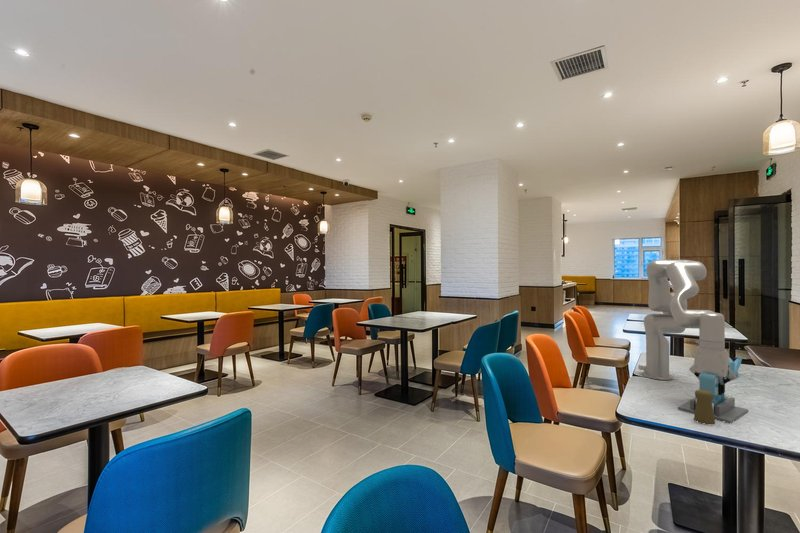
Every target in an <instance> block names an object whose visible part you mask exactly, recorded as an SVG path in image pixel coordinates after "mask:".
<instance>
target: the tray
mask: <svg viewBox="0 0 800 533" xmlns="http://www.w3.org/2000/svg"><path fill="white" fill-rule="evenodd" d="M729 396H730V395H728V394H724V401H723V402H721V403H720V404H718V405H716V406H715V407H714V403H712V407H713V413H714V419H716V420H715V421H719V420H720V421H719V422H723V421H725V422H724V423H726V422H728V423H727V424H730V423H731V424H732V423H734V422H736V419H737V420H738V419H740V418H742V417H743V416H744V415H746V414H747V413H749V409H748V408H745V407H740V406H736V403H735V399H736V398H735V397H729ZM696 402H697V398H696V397H695V396H694V397H693V398H691V399H690V400H689V401H687V402H684V403H683V404H681V405H679V406H677V410H678V411H682V412H686V413H689V414H692V415H693V414H694V415H695V408H696ZM739 417H740V418H739ZM733 421H734V422H733Z"/></svg>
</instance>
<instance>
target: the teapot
mask: <svg viewBox="0 0 800 533" xmlns="http://www.w3.org/2000/svg"><path fill="white" fill-rule="evenodd" d="M742 360H743V358H739V357H737V358H735V360H733V359H732V358H731V357H729V363H730V370H731V371H732V372H733V373H734V374H735V376H736V377H737V376H738V374H739V369H740V367H741V364H742ZM727 377H728V378H729V377H730V376H729V375H727V376H726V377H725V378H727Z"/></svg>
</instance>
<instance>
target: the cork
mask: <svg viewBox="0 0 800 533" xmlns="http://www.w3.org/2000/svg"><path fill="white" fill-rule="evenodd" d="M695 397H696V398H697V402H696V408H695V414H694V415H693V420H694V421H695V420H696V421H698V422H697V423H699V422H701V423H700V424H702V423H705V424H704V425H708V424H714V425H715V424H716V420H715V419H714V413H713V407H712V400H713V394H712V393H711V392H710V391H707V390H700V389H696V390H695V392H694V398H695ZM696 421H695V422H696Z"/></svg>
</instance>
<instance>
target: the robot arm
mask: <svg viewBox="0 0 800 533" xmlns="http://www.w3.org/2000/svg"><path fill="white" fill-rule="evenodd" d="M645 271H646V272H645V273H646V277H647V280H648V298H647V299H648V300H647V301H648V308H649V309H650V311H653V312H659V313H649V314H647V315H645V316H644V318H643V325H644V326H643V327H644V331H645V352H646V354H645V355H646V356H645V358H646V359H645V361H646V364H645V365H641V364H638V366H637V368H638V370H641V371H643V372H642V375H643V376H644V377H645V378H649V379H653V380H658V381H659V380H660V381H672V380H673V379H674V376H673V374H670V343H669V340H668V338H667V337H666V336H665V335H664V334H681V333H683V332H685V330H686V329H699V330H698V331H699V332H698V333H699V336H698V337H699V338H698V339H695V340H694V343H695V344H697V345H698V346H696V347H695V354H694V360H693V365H692V366H690V367H689V368H688V370H689V372H691V374H693V375H694V376H695V377H696V378H697V379H698V380H699V381H700V373H702V372H705V373H711V374H716V375H717V377H718V379H719V382H720V383H719V384H718V394H719V395H722V394H723V393H724V394H725V392H726V384H727V383H729V382H731V381H733V380H736V379H738V377H737V375H736V376H735V374H734V373H733V372H732V371H731V370H730V363H729V358H730V357H729V353H728V350H727V349H726V348H725V347H726V346H725V345H726V342H725V340H726V339H725V338H726V336H725V331H726V330H725V326H726V325H725V322H726V321H725V319H726V318H725V316H724V314H722V313H721V312H720V313H719V312H715V311H713V310H709V309H688V299H691V298H693V297H694V296H696V295H698V294H699V292H700V287H699V284H698V283H697V281H702V280H705V278H706V277H707V275H708V272H707V268H706V266H705V265H704V264H703V263H702V262H701V261H698V260H697V261H696V260H691V259H657V260H656V259H655V260H651V261H649V262H648V264H647V265H646V270H645ZM667 278H668V279H667ZM671 286H672V289H673V291H674V292H670V290H671V289H670V288H671ZM660 312H663V313H660ZM727 375H729V376H730V377H729V378H727V377H726V376H727Z"/></svg>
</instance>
